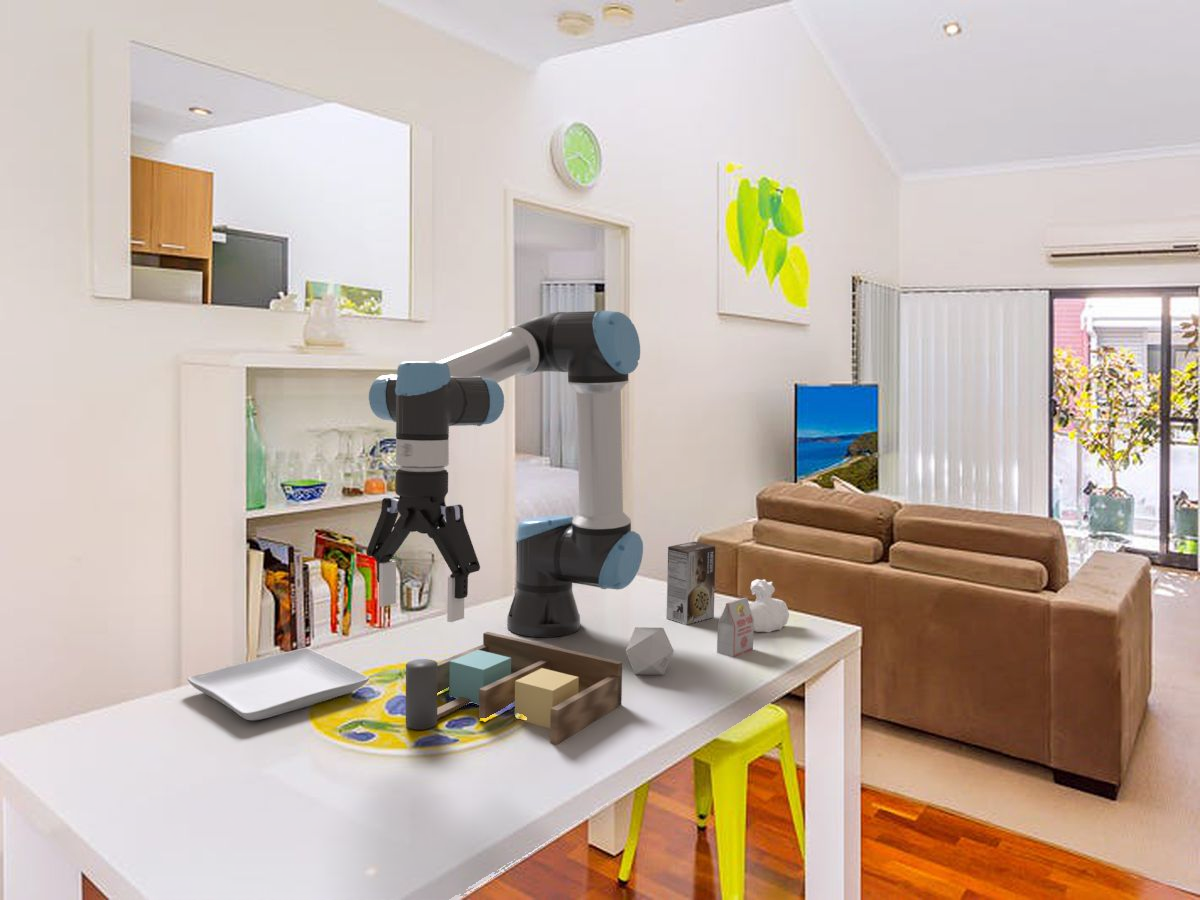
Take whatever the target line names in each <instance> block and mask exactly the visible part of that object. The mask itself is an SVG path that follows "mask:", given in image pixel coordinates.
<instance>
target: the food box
mask: <svg viewBox="0 0 1200 900" xmlns="http://www.w3.org/2000/svg"><path fill="white" fill-rule="evenodd" d="M715 574H716V546H715V545H710V544H707V543H705V542H699V541H691V542H685V543H678V544H675V545H670V546H668V547H667V583H666V584H667V585H666V586H667V590H666V615H665V616H666V620H669V619H670V620H669V621H672V620H674V621H673V622H675V621H677V622H676V623H679V622H680V623H679V624H682V623H684V624H683V625H685V624H689V625H692V624H695V623H694V622H696V623H698V621H699V622H702V621H705V619H706V620H709V619H711V618H712V619H713V618H714V617H715V585H716V584H715V582H716V578H715V577H716V575H715ZM701 620H702V621H701ZM691 623H692V624H691Z"/></svg>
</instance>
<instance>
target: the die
mask: <svg viewBox="0 0 1200 900" xmlns="http://www.w3.org/2000/svg"><path fill="white" fill-rule="evenodd" d="M674 652H675V650H674V648H673V646H672V644H671V642H670V640H669V637H668V635H667V633H666V631H665V629H664V627H643V626H642V627H638V626H636V627H634V630H633V632H632V634H631V637H630V639H629V642H628V644H627V647H626V649H625V653H626V656H627V658H628V660H629V661H628V662H629V663H630V665H631V668H632V671H633V673H634V675H635V676H636V675H638V676H640V675H641V676H646V675H647V676H648V675H649V676H665V673H666V670H667V668H668V665H669V663H670V661H671V659H672V656H673V654H674Z"/></svg>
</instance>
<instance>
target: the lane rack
mask: <svg viewBox="0 0 1200 900" xmlns="http://www.w3.org/2000/svg"><path fill="white" fill-rule="evenodd" d="M482 636H483V637H482V639H483V641H482V644H481V645H478V646H476V647H472V648H471V649H468V650H466V651H463V652H460V653H458V654H455V655H453V656H451V657H448V658H445V659H443V660H441V661H438V662H437V661H436V662H437V693H438V692H440V691H442V690H444V689H446V688H448V687H449V685H450V661H451V660H454V659H456V658H459V657H461V656H464V655H466V654H469V653H471V652H474V651H476V650H481V651H485V652H489V653H494V654H498V655H502V656H506V657H510V658H511V674H510V675H508V676H506V677H504V678H502V679H500V680H497V681H495V682H493V683H491V684H489V685H487V686H484V687H482V688H480V689H479V706H478V719H479V718H487V717H489V716H490V715H492V714H494V713H496V712H498V711H500V710H501V709H503V708H505V707H506V706H508V705H509V704H511V703H513V702H514V701H515V681H516V680H518V679H520V678H522V677H524V676H526V675H529V674H531V673H533V672H535V671H537V670H539V669H541V668H544V669H548V670H552V671H556V672H560V673H564V674H568V675H572V676H576V677H579V687H578V694H576V695H574V696H572V697H571V698H569V699H567V700H565V701H563V702H562V703H560V704H558V705H556V706H554V707H552V708H551V717H550V728H549V729H550V730H549V731H550V732H549V734H550V736H549V737H550V738H549V741H550V744H554V745H559V744H560V743H562V742H563V741H565V740H567V739H568V738H570V737H572V736H574V735H575V734H576V733H578V732H579V731H582V729H584V728H586V727H588V726H589V725H591V724H592V723H594V722H595V721H597V720H598V719H601V718H602V717H603V716H605V715H607V714H609V713H611V712H612V711H613V710H615V709H616V708H618V707H620V706H622V695H623V694H622V693H623V690H622V689H623V661H619V660H615V659H610V658H606V657H602V656H597V655H593V654H589V653H584V652H579V651H575V650H571V649H568V648H567V649H566V648H561V647H557V646H554V645H550V644H545V643H540V642H535V641H532V640H531V641H530V640H527V639H522V638H517V637H513V636H509V635H504V634H501V633H500V634H499V633H495V632H492V631H491V632H490V631H486V632H484V633H483V634H482Z"/></svg>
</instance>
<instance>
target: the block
mask: <svg viewBox="0 0 1200 900" xmlns="http://www.w3.org/2000/svg"><path fill="white" fill-rule="evenodd" d="M578 687H579V677H576V676H572V675H568V674H564V673H560V672H556V671H552V670H548V669H544V668H541V669H539V670H537V671H535V672H533V673H531V674H529V675H526V676H524V677H522V678H520V679H518V680H516V681H515V708H514V714H515V713H519V714H523V715H524V716H526V717H527V720H526V722H527V723H529V724H534V725H535V726H540V727H544V728H546V729H550V717H551V708H552V707H554V706H556V705H558V704H560V703H562V702H563V701H565V700H567V699H569V698H571V697H572V696H574V695H576V694H578Z"/></svg>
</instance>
